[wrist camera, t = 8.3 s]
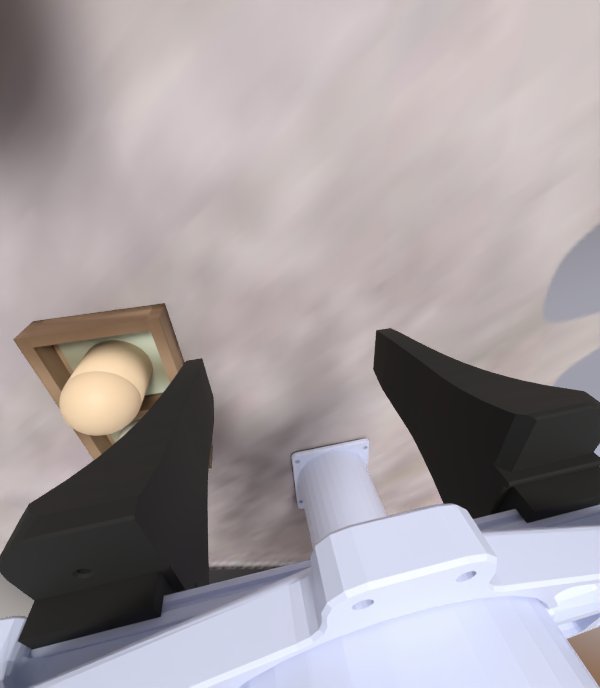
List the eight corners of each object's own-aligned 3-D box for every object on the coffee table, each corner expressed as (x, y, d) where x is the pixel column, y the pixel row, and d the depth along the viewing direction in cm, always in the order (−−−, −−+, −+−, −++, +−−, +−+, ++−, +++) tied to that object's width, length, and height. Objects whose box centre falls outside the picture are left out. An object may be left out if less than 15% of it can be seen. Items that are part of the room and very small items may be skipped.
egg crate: (212, 447, 29) (211, 467, 27) (120, 465, 28) (112, 488, 26) (164, 303, 21) (158, 318, 19) (32, 321, 20) (13, 339, 18)
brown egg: (160, 384, 23) (143, 443, 19) (99, 394, 23) (67, 457, 18) (140, 335, 21) (116, 389, 16) (73, 345, 20) (27, 404, 16)
